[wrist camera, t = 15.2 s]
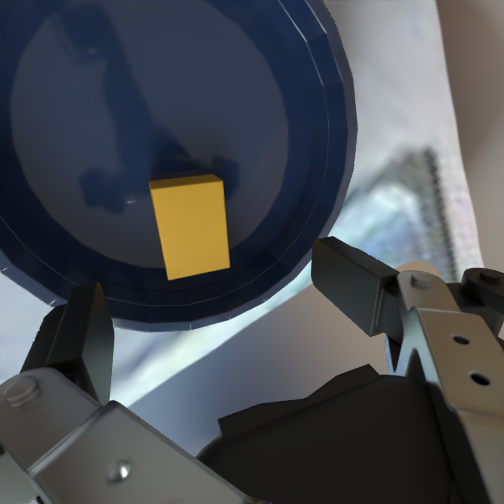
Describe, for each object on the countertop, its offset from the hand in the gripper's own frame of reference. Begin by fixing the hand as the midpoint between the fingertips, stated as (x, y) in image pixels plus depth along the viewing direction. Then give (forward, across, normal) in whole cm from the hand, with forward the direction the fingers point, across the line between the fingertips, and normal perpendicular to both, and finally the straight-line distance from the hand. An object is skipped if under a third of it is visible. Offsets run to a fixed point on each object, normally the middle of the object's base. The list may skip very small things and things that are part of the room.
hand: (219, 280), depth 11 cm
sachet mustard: (+7, 0, 0) cm, 7 cm away
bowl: (+8, 0, -4) cm, 8 cm away
